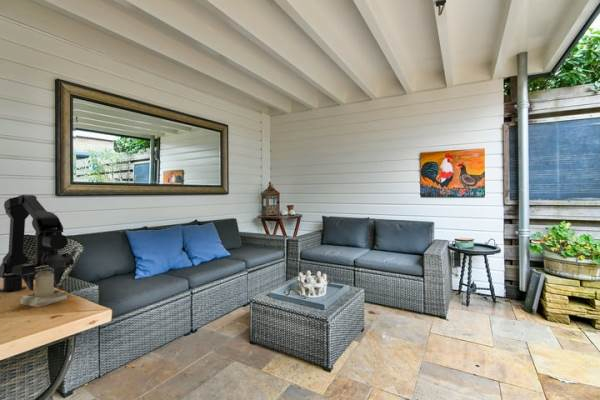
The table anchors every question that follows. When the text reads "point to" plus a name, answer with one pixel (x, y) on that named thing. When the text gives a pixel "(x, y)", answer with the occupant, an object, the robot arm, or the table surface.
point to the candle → (44, 284)
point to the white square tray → (43, 298)
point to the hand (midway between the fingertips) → (44, 287)
